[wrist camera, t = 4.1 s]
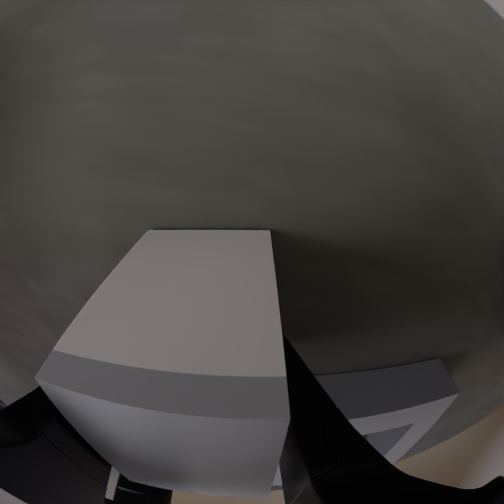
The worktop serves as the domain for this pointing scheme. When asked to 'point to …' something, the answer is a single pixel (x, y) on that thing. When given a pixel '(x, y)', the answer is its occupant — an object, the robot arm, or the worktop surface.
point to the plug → (181, 364)
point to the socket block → (391, 403)
